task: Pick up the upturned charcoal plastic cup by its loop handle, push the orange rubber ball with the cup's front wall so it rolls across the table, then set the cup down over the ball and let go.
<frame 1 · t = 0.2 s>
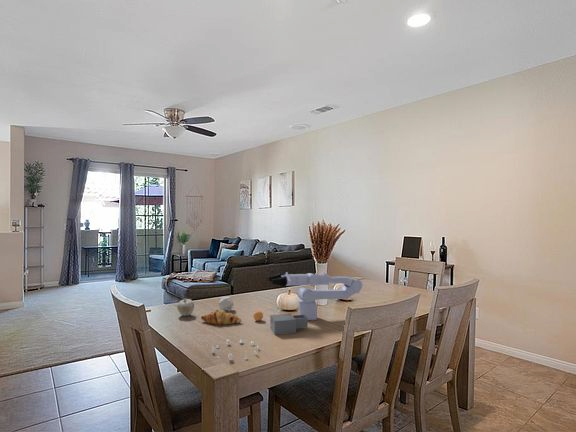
hand: (270, 280, 179), 21 cm above the table, tool horizontal, fingers open, 7 cm apart
ball: (258, 315, 181), on the table
game piece set: (236, 352, 140), on the table
die: (226, 311, 199), on the table
croissant: (221, 323, 177), on the table
cup: (282, 330, 165), on the table
decorative object: (185, 316, 189), on the table
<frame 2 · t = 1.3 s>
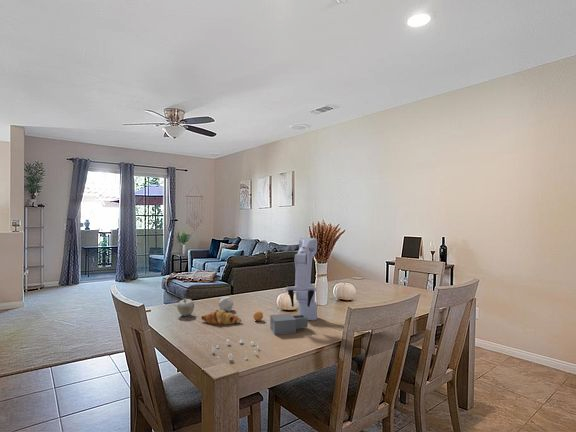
hand: (300, 306, 168), 11 cm above the table, tool pointing down, fingers open, 7 cm apart
nothing on the table moved.
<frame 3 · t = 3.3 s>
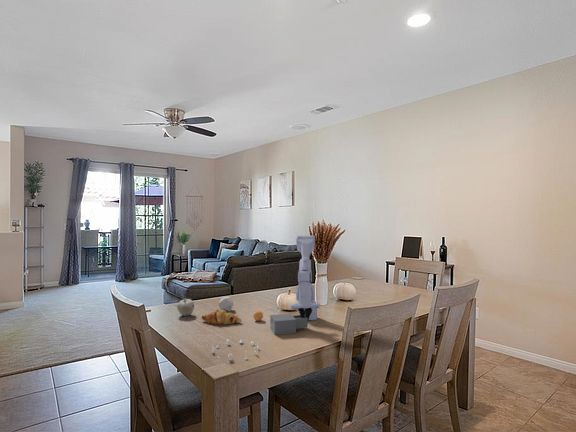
hand: (304, 323, 168), 2 cm above the table, tool pointing down, fingers closed on cup
cup: (282, 330, 165), on the table, touching gripper
everything else where it was.
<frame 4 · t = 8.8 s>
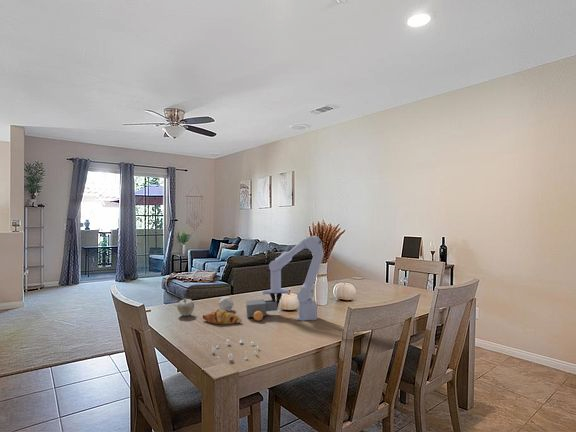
hand: (275, 307, 191), 4 cm above the table, tool pointing down, fingers closed on cup
cup: (256, 313, 189), point 1 cm above the table, touching gripper
everything else where it was.
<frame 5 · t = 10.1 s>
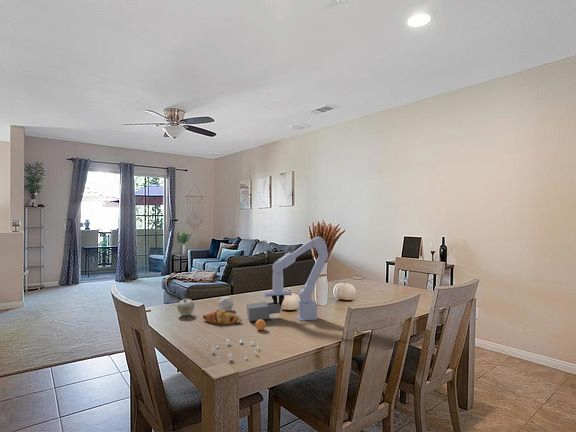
hand: (277, 309, 185), 5 cm above the table, tool pointing down, fingers closed on cup
ball: (260, 324, 166), on the table
cup: (258, 317, 183), point 1 cm above the table, touching gripper
everything else where it was.
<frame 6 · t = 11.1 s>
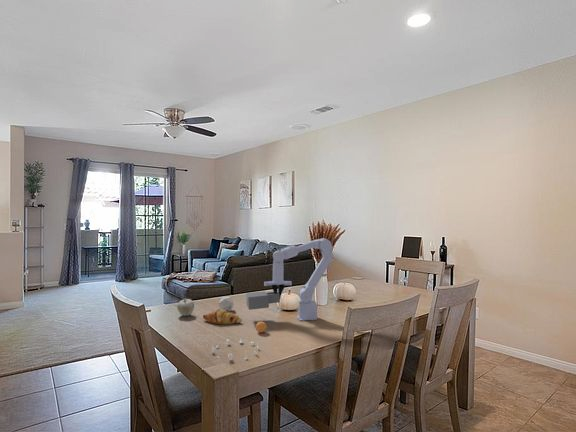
hand: (277, 299, 184), 10 cm above the table, tool pointing down, fingers closed on cup
ball: (261, 327, 162), on the table
cup: (257, 306, 181), point 7 cm above the table, touching gripper
everything else where it was.
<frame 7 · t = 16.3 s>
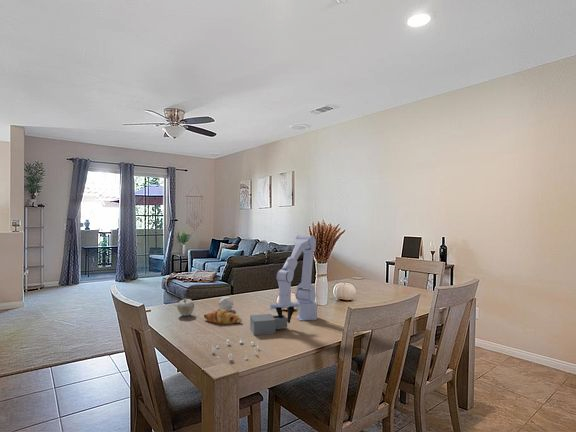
hand: (284, 322, 168), 3 cm above the table, tool pointing down, fingers open, 3 cm apart
cup: (262, 330, 165), on the table
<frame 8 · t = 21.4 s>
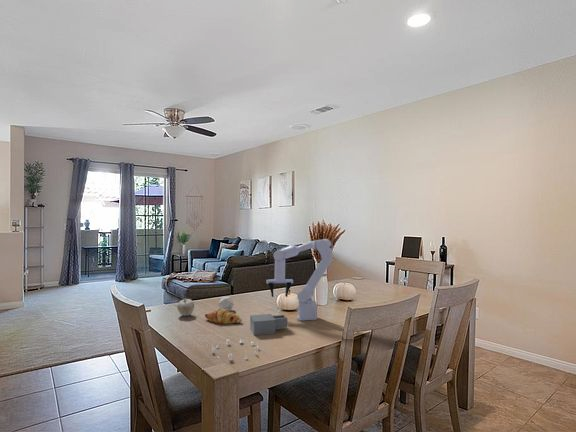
hand: (279, 296, 190), 10 cm above the table, tool pointing down, fingers open, 7 cm apart
at the end: ball 2.2 cm from the cup (horizontally); cup on the table; ball moved 18.3 cm from its start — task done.
